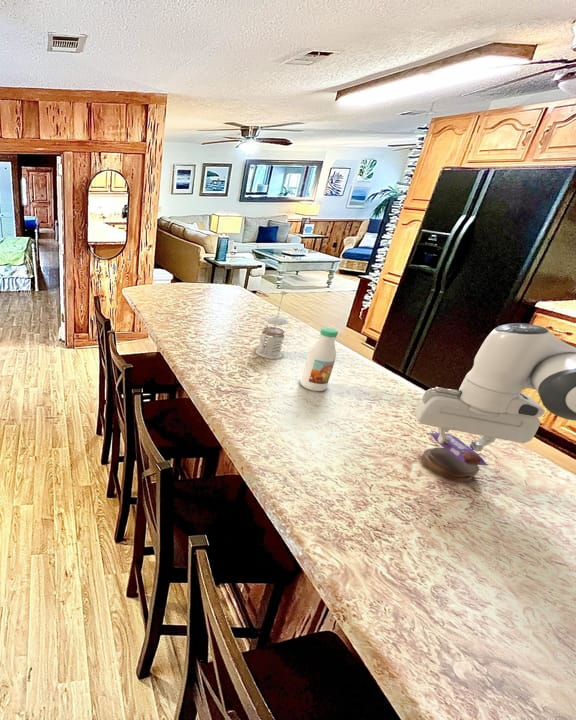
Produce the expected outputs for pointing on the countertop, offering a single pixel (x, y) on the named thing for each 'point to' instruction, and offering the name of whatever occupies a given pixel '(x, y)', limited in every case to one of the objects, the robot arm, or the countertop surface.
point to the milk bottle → (320, 361)
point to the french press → (273, 342)
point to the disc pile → (448, 465)
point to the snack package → (460, 451)
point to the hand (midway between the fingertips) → (458, 446)
